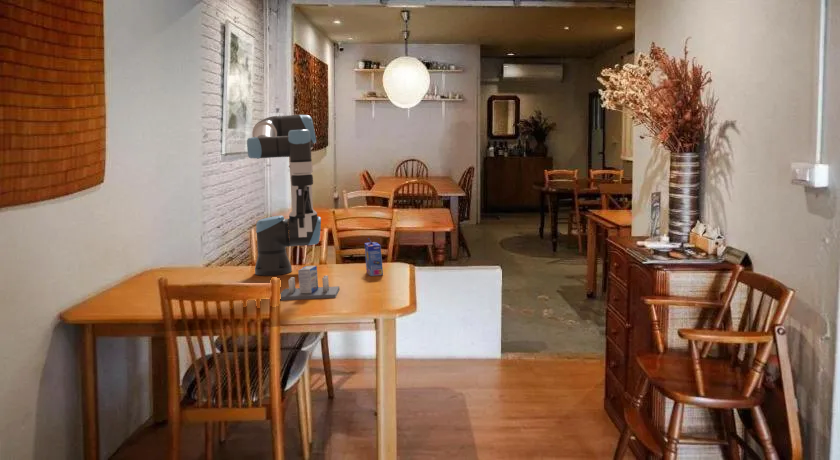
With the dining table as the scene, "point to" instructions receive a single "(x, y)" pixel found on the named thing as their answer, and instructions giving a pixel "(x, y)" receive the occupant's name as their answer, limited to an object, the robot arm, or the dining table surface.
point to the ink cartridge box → (373, 258)
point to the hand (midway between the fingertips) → (305, 234)
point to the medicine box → (308, 279)
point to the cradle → (319, 293)
